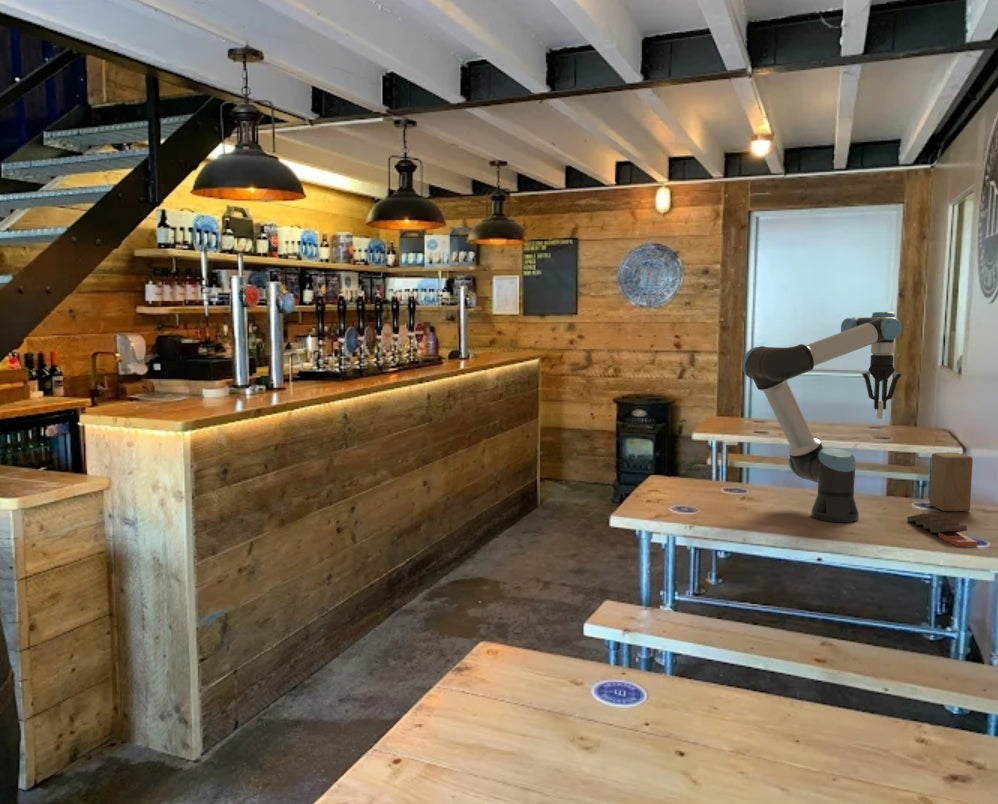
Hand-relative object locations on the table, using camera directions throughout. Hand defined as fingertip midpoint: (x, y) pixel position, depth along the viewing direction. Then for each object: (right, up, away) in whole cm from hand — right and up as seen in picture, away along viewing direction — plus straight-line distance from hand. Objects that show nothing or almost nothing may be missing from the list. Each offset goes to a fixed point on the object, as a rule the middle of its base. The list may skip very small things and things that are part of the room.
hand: (879, 418), depth 290 cm
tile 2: (+2, -35, -27) cm, 44 cm away
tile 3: (+2, -35, -32) cm, 47 cm away
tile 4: (+2, -36, -36) cm, 51 cm away
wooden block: (+23, -33, -5) cm, 41 cm away
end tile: (+2, -36, -41) cm, 55 cm away
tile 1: (+2, -34, -22) cm, 40 cm away
